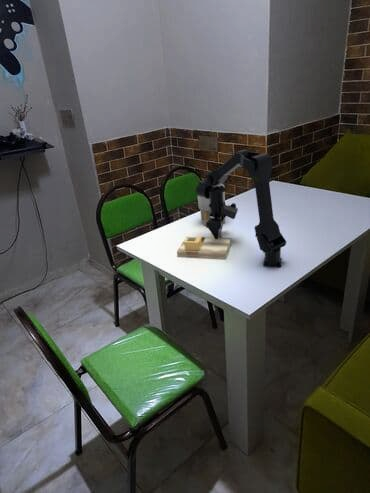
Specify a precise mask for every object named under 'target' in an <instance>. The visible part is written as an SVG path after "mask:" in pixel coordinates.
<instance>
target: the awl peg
mask: <svg viewBox="0 0 370 493" xmlns="http://www.w3.org/2000/svg"><path fill="white" fill-rule="evenodd" d="M222 232H223V231H222V230H221V228H220V229H219V235H218V238H223V237H222V236H223V235H222Z"/></svg>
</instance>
